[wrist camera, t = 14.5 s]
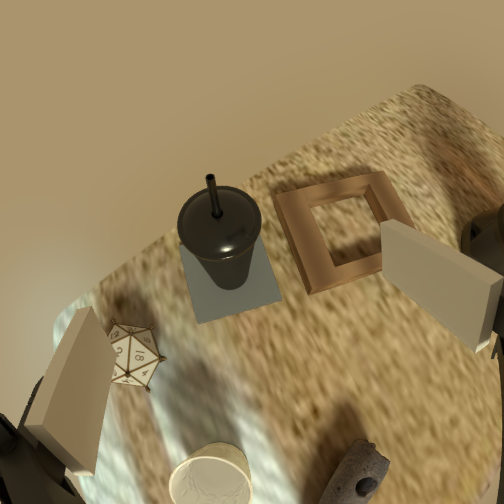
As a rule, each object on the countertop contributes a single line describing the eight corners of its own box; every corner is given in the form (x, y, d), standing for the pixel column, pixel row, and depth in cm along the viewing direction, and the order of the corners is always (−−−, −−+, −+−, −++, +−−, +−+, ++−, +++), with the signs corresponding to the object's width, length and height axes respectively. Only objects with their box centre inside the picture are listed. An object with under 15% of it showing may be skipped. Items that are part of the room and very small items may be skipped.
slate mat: (256, 226, 44) (256, 224, 43) (281, 300, 40) (282, 298, 39) (180, 247, 43) (178, 245, 42) (198, 324, 38) (197, 323, 38)
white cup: (178, 450, 32) (154, 470, 23) (235, 428, 33) (228, 443, 24) (207, 500, 29) (193, 532, 20) (264, 478, 30) (267, 508, 21)
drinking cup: (225, 234, 43) (206, 127, 24) (271, 266, 41) (283, 168, 22) (188, 277, 40) (138, 188, 22) (234, 312, 38) (216, 244, 20)
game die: (160, 369, 40) (164, 414, 30) (100, 361, 37) (89, 404, 27) (167, 310, 39) (171, 345, 29) (103, 300, 36) (87, 333, 26)
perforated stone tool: (324, 534, 26) (335, 557, 20) (290, 523, 28) (296, 547, 21) (382, 445, 32) (406, 454, 25) (350, 432, 33) (369, 441, 26)
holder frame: (377, 181, 47) (383, 170, 44) (417, 257, 42) (426, 249, 39) (274, 206, 45) (275, 194, 42) (308, 295, 40) (312, 289, 37)
